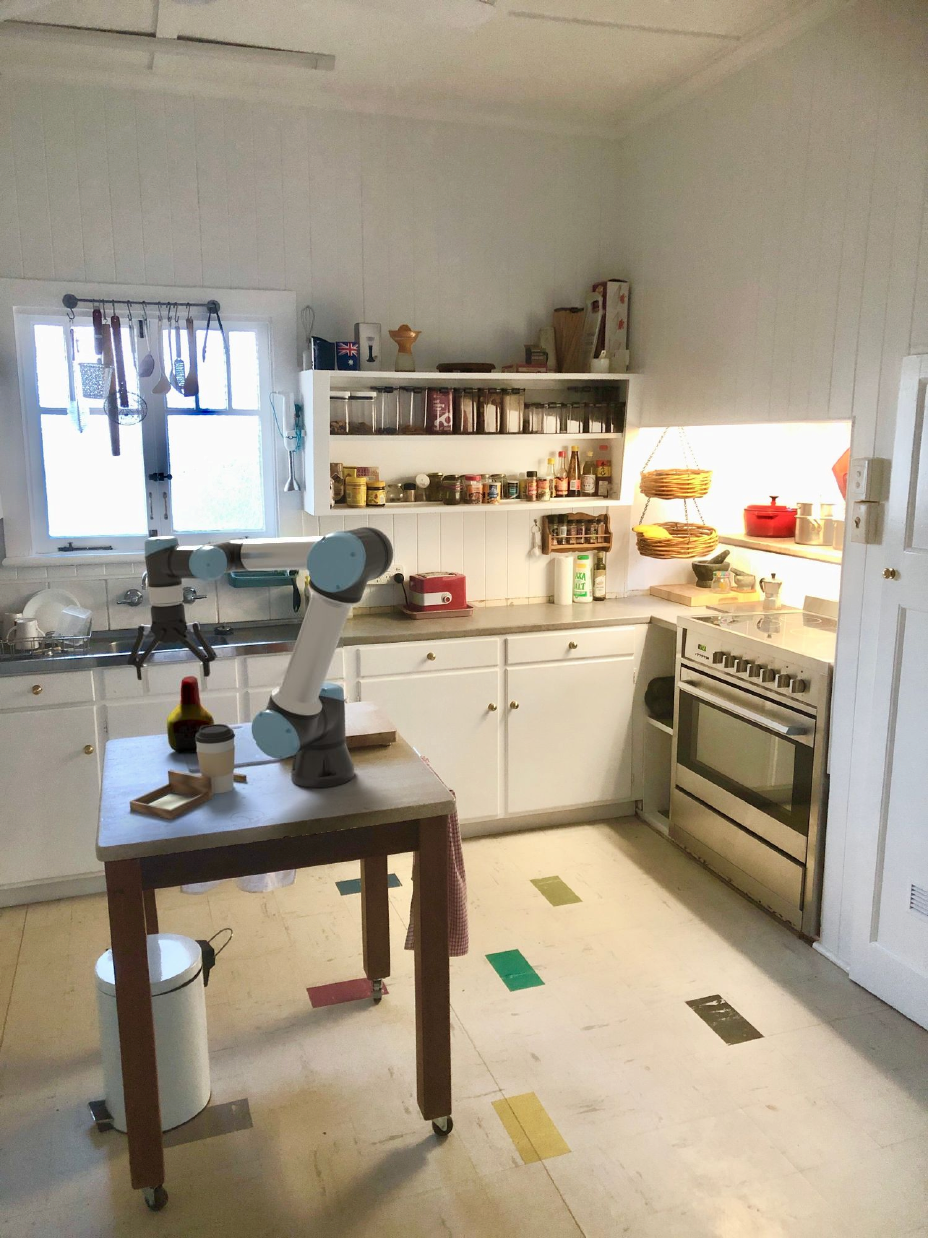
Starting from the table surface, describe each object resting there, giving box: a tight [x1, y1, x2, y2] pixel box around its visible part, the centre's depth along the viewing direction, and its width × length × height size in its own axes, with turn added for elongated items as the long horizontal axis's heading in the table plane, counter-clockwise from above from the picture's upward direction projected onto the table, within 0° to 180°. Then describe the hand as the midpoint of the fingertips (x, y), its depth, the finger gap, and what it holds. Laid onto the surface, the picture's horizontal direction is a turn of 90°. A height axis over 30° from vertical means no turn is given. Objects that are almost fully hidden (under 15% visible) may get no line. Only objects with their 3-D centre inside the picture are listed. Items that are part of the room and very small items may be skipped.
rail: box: [233, 772, 247, 783], centre depth 229 cm, size 12×1×2 cm, turn 63°
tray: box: [129, 769, 213, 820], centre depth 213 cm, size 12×13×5 cm
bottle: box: [166, 675, 215, 754], centre depth 246 cm, size 12×6×20 cm, turn 89°
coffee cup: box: [195, 723, 236, 795], centre depth 221 cm, size 9×9×15 cm
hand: (175, 691), depth 225 cm, fingers open, 13 cm apart
